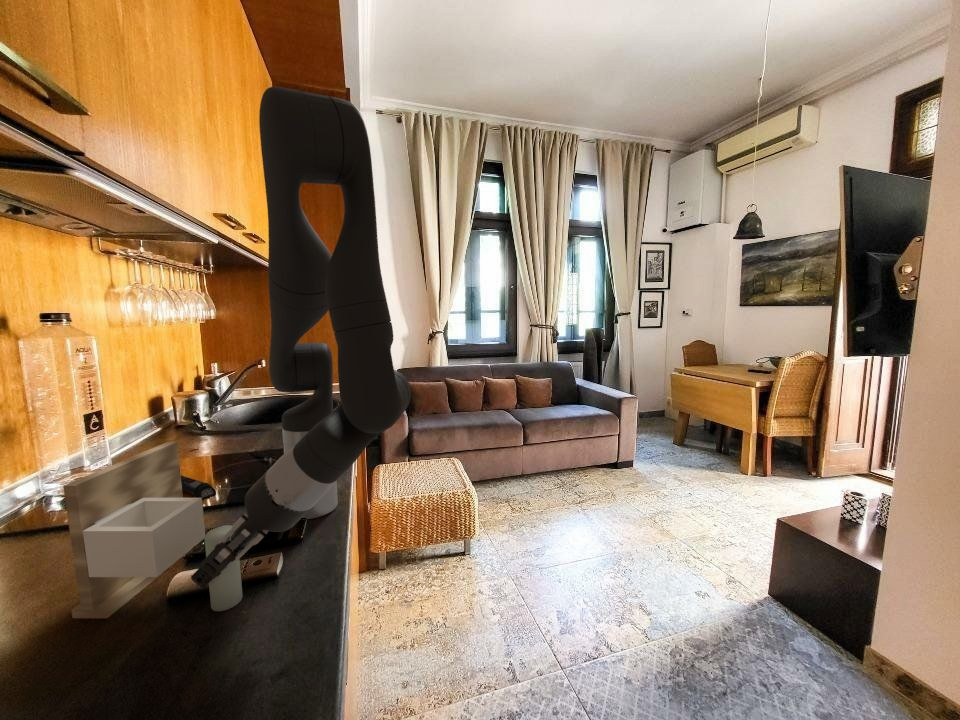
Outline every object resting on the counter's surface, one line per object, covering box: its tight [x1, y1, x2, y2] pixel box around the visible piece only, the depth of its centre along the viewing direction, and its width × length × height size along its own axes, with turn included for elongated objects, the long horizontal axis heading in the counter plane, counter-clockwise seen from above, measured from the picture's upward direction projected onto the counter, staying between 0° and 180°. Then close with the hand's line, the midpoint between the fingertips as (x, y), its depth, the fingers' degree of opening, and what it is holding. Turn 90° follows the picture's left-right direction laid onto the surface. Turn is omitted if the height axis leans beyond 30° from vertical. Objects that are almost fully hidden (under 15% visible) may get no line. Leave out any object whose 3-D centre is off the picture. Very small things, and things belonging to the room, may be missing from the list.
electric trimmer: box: [181, 474, 217, 501], centre depth 85 cm, size 4×16×3 cm, turn 62°
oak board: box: [62, 441, 191, 619], centre depth 56 cm, size 16×4×18 cm, turn 0°
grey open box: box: [83, 497, 206, 578], centre depth 52 cm, size 9×9×6 cm
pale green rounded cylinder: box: [204, 524, 244, 612], centre depth 52 cm, size 4×4×10 cm
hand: (209, 570), depth 52 cm, fingers closed on pale green rounded cylinder, 3 cm apart
